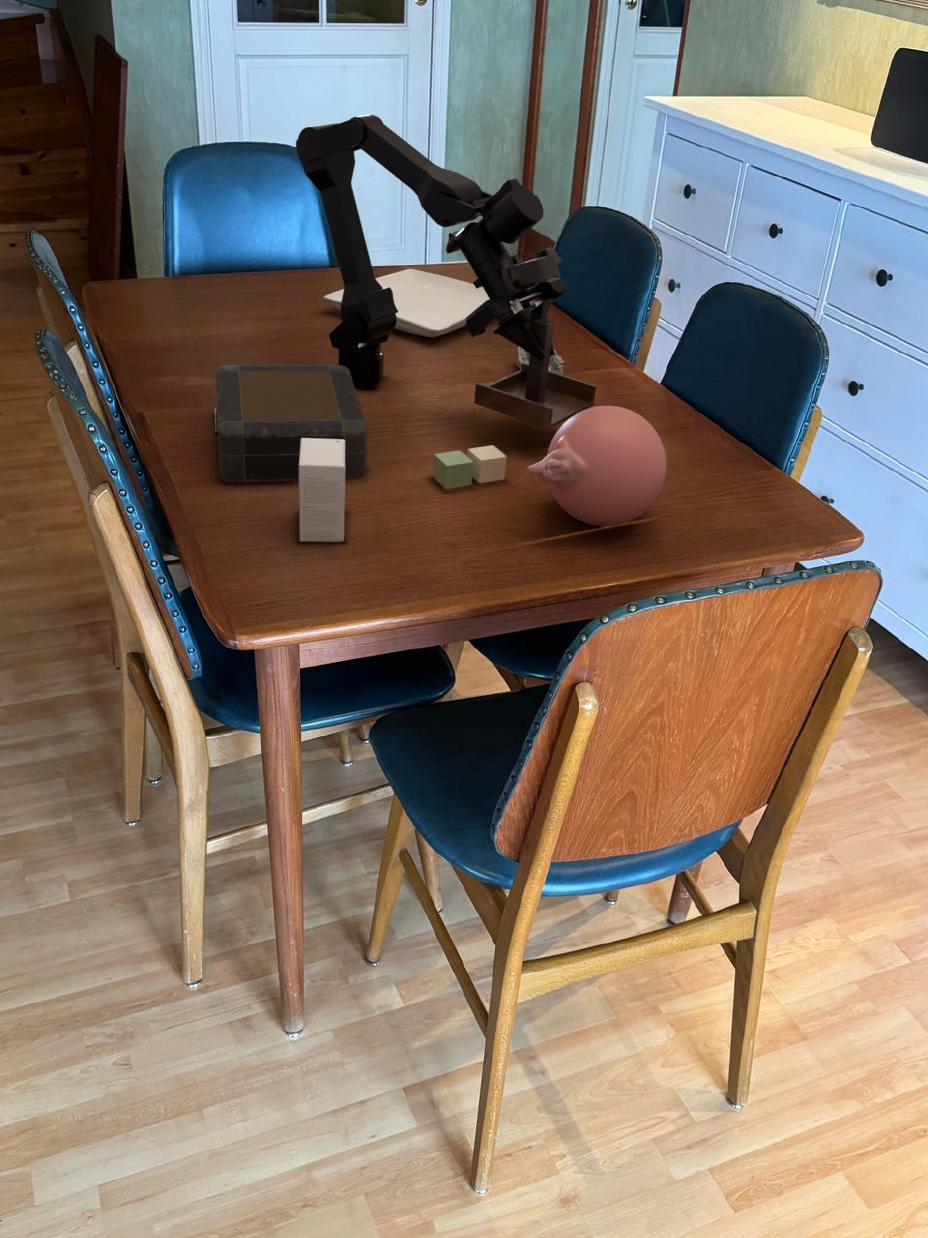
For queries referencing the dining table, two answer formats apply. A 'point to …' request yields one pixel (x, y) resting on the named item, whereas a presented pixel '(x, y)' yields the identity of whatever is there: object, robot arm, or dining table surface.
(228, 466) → the cash box
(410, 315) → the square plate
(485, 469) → the cream block
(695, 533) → the dining table surface
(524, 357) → the grey castle model
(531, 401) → the brown tray with post
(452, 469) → the sage block
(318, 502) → the small box
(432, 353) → the dining table surface
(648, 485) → the balloon
